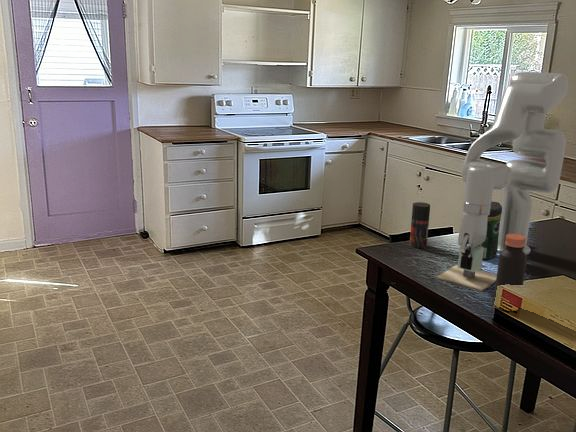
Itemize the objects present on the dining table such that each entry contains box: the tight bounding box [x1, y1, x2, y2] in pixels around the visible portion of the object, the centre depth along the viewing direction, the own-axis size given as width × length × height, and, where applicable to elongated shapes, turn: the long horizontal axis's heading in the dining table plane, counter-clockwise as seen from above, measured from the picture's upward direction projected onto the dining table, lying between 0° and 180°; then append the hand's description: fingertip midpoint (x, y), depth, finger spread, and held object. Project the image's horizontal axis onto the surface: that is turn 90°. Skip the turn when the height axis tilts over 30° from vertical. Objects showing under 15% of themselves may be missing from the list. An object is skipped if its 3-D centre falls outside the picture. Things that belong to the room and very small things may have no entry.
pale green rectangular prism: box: [457, 244, 484, 272], centre depth 167 cm, size 5×5×7 cm
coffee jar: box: [482, 200, 502, 260], centre depth 186 cm, size 10×8×19 cm
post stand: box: [436, 263, 497, 292], centre depth 168 cm, size 14×14×7 cm
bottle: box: [492, 234, 528, 306], centre depth 148 cm, size 7×7×20 cm
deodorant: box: [409, 201, 431, 249], centre depth 195 cm, size 6×6×15 cm
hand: (469, 265), depth 168 cm, fingers closed on pale green rectangular prism, 5 cm apart
